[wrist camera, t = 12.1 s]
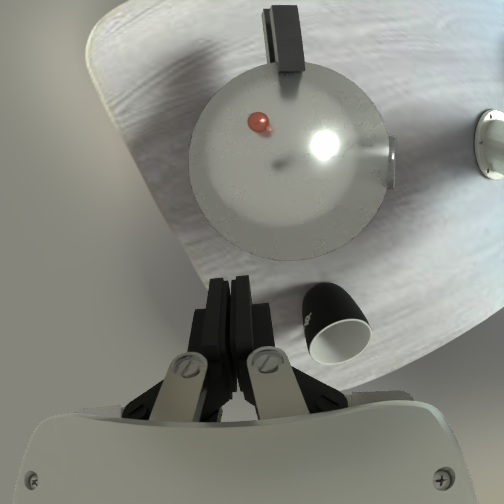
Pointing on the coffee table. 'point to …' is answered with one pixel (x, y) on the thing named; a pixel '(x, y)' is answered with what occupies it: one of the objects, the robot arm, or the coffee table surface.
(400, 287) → the coffee table surface
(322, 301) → the mug
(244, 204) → the lid
